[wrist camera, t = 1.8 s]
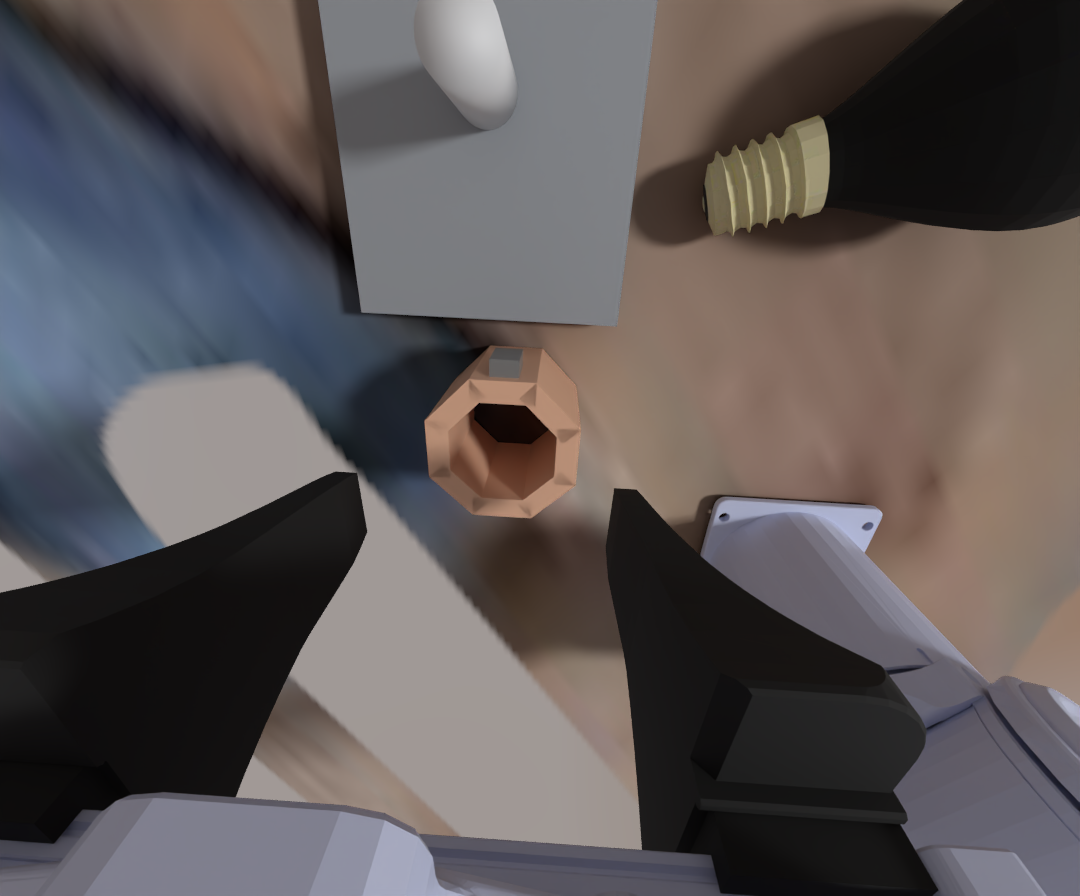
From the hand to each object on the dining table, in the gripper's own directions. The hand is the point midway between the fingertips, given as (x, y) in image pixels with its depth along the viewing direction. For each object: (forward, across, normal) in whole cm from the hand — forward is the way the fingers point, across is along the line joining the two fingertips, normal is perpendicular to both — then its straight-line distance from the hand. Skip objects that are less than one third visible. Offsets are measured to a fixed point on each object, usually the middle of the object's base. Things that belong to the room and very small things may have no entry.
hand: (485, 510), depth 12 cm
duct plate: (+8, +1, -11) cm, 14 cm away
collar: (+8, 0, 0) cm, 8 cm away
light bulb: (+9, -12, -11) cm, 18 cm away
